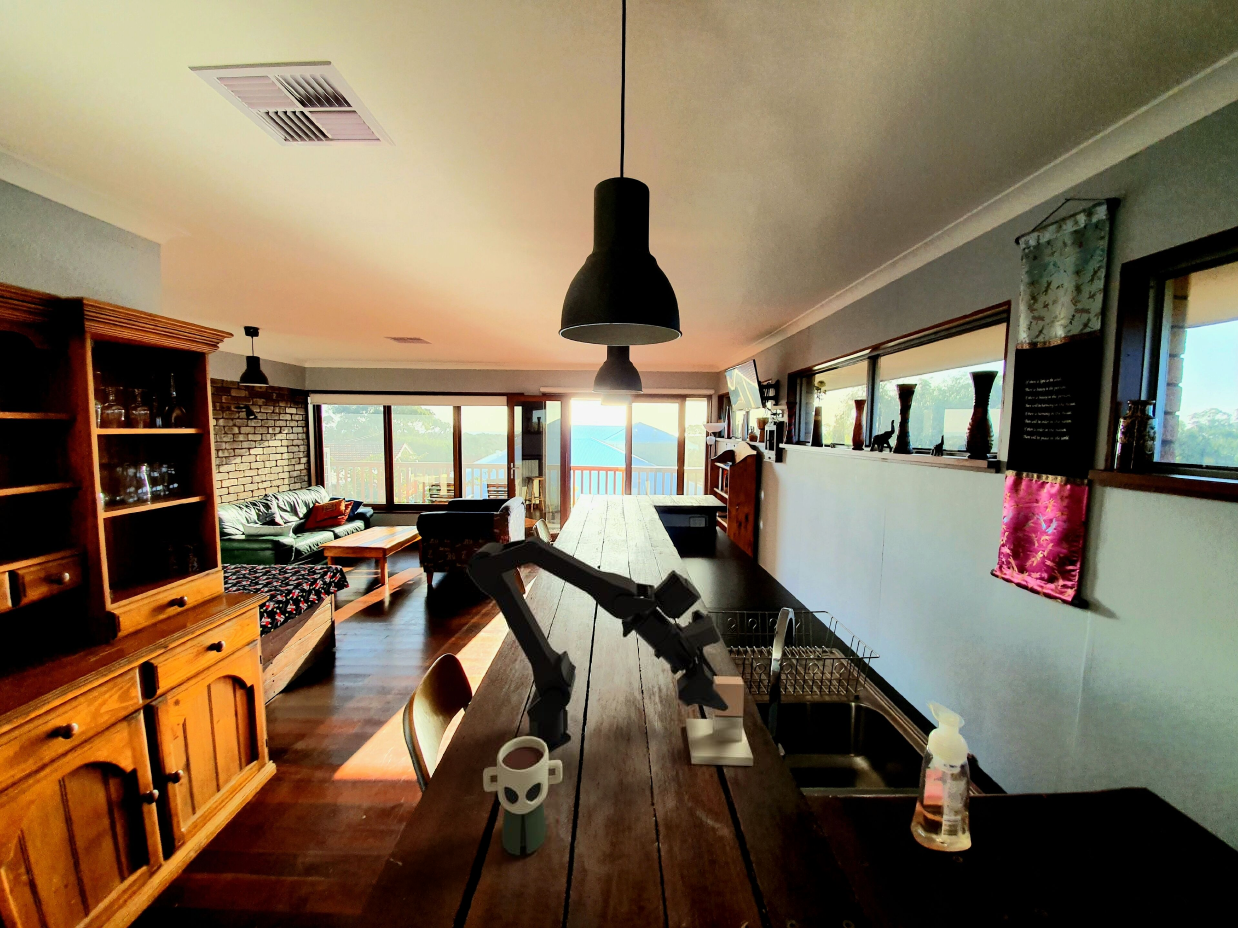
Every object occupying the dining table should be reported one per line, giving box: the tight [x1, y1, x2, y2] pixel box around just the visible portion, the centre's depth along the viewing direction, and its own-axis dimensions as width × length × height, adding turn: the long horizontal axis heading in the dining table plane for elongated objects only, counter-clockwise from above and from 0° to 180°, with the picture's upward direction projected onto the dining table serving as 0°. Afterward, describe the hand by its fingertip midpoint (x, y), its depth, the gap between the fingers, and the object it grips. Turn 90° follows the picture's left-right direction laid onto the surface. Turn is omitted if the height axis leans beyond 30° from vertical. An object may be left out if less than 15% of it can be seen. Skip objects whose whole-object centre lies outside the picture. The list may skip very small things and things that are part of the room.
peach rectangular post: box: [713, 675, 745, 717], centre depth 83 cm, size 5×2×6 cm, turn 87°
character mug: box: [482, 735, 563, 856], centre depth 65 cm, size 11×7×13 cm, turn 99°
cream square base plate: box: [685, 708, 754, 767], centre depth 84 cm, size 10×10×6 cm
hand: (721, 693), depth 83 cm, fingers open, 9 cm apart
